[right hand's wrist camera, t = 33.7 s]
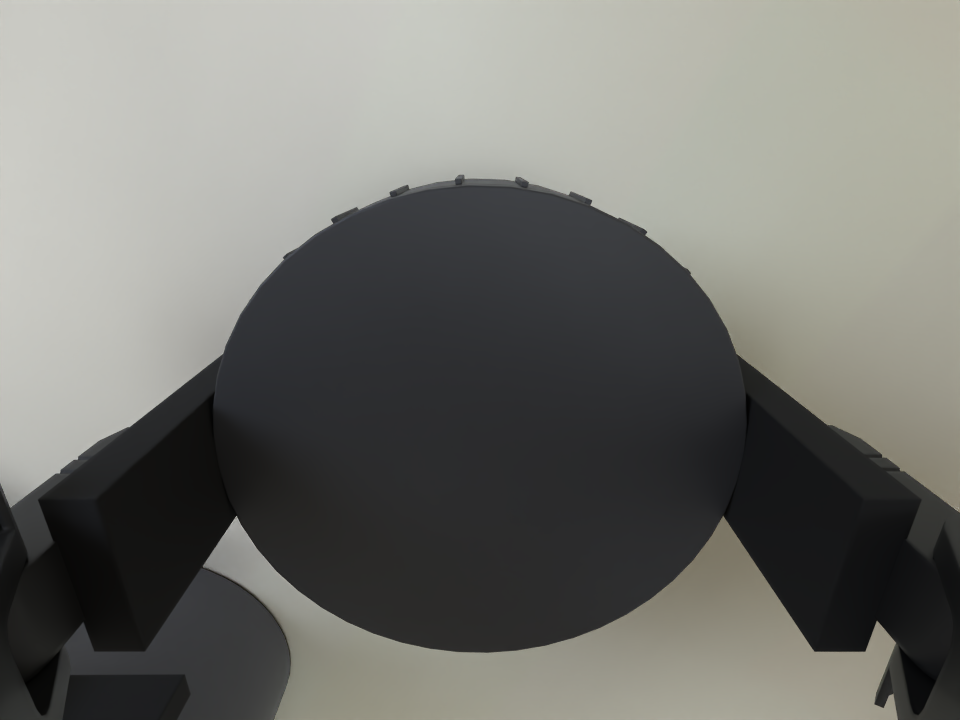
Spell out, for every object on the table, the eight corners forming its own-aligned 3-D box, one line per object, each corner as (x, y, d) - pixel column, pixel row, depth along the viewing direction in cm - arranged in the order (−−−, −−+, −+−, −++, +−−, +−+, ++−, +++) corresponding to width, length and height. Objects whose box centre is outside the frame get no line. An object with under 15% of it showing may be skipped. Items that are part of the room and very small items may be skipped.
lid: (569, 60, 9) (595, 35, 7) (770, 468, 13) (828, 531, 10) (159, 341, 11) (87, 383, 9) (422, 633, 15) (412, 713, 12)
